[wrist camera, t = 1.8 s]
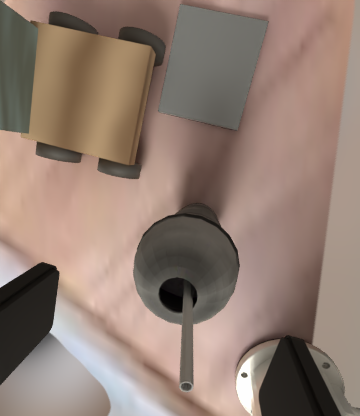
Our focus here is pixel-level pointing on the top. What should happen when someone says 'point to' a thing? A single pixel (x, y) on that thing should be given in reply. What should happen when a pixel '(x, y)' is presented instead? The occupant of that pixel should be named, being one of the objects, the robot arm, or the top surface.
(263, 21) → the mat
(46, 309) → the robot arm
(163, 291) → the beverage cup
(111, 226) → the top surface
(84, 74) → the trolley
